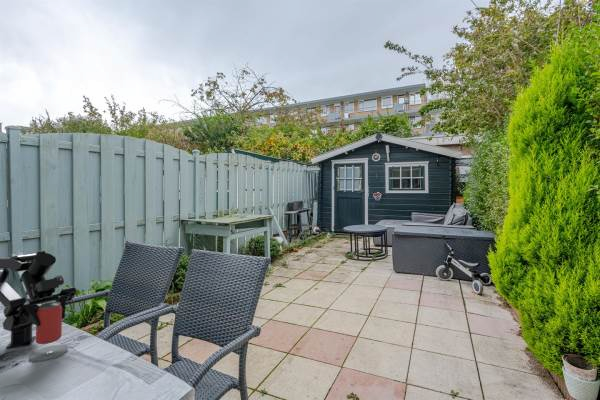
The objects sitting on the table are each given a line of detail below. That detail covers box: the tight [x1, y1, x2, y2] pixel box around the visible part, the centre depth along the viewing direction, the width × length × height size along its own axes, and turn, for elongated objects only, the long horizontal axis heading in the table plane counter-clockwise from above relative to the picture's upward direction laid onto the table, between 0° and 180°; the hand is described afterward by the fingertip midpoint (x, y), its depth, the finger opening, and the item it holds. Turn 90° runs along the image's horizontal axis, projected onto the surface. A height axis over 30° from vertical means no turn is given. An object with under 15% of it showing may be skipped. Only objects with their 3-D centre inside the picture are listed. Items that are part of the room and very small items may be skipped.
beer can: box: [35, 301, 63, 345], centre depth 99 cm, size 7×7×12 cm
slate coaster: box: [28, 344, 69, 363], centre depth 99 cm, size 10×10×1 cm
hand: (51, 321), depth 99 cm, fingers closed on beer can, 7 cm apart
